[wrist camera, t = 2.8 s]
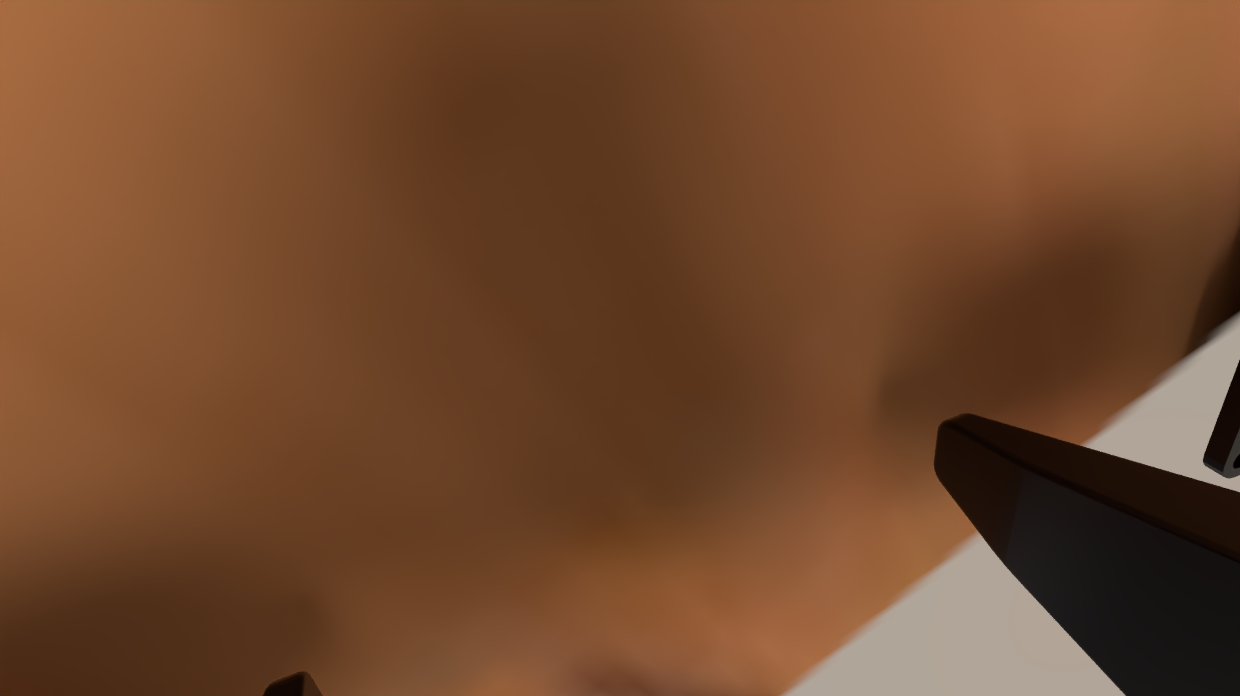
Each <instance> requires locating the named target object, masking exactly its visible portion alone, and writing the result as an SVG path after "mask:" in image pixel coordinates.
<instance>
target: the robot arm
mask: <svg viewBox="0 0 1240 696" xmlns="http://www.w3.org/2000/svg"><path fill="white" fill-rule="evenodd" d="M1203 463H1204V465H1205V466H1207V467H1208V468H1210V469H1212V470H1213V471H1215V472H1217V473H1218V474H1220V475H1222V476H1223V477H1226V478H1233V477H1236V476H1238V475H1240V360H1239V363H1238V366H1237V368H1236V371H1235V374H1234V376H1233V379H1232V382H1231V384H1230V387H1229V390H1228V393H1227V395H1226V398H1225V400H1224V403H1223V406H1222V409H1221V411H1220V414H1219V417H1218V419H1217V422H1216V424H1215V427H1214V430H1213V432H1212V435H1211V438H1210V440H1209V443H1208V446H1207V448H1206V451H1205V454H1204V458H1203ZM934 469H935V472H936V475H937V477H938V479H939V480H940V482H941V483H942V485H943V486H944V487H945V489H946V490H947V491H948V492H949V494H950V495H951V496H952V498H953V499H954V500H955V502H956V503H957V504H958V506H959V507H960V508H961V509H962V511H963V512H964V513H965V515H966V516H967V517H968V519H969V520H970V521H971V523H972V524H973V525H974V526H975V528H976V529H977V530H978V532H979V533H980V534H981V536H982V537H983V538H984V540H985V541H986V542H987V543H988V545H989V546H990V547H991V549H992V550H993V551H994V552H995V554H996V555H997V556H998V557H999V559H1000V560H1001V561H1002V562H1003V563H1004V565H1005V566H1006V567H1007V568H1008V569H1009V570H1010V571H1011V573H1012V574H1013V575H1014V576H1015V577H1016V578H1017V579H1018V580H1019V581H1020V582H1021V584H1022V585H1023V586H1024V587H1025V588H1026V589H1027V590H1028V591H1029V592H1030V593H1031V594H1032V595H1033V597H1034V598H1035V599H1036V600H1037V601H1038V602H1039V603H1040V604H1041V605H1042V606H1043V607H1044V608H1045V609H1046V611H1047V612H1048V613H1050V615H1051V616H1052V617H1053V618H1054V619H1055V620H1056V621H1057V622H1058V623H1059V625H1060V626H1061V627H1062V628H1063V629H1064V630H1065V631H1066V632H1067V633H1068V634H1069V635H1070V636H1071V637H1072V638H1073V640H1074V641H1076V643H1077V644H1078V645H1079V646H1080V647H1081V648H1082V649H1083V650H1084V651H1085V652H1086V654H1087V655H1088V656H1090V658H1091V659H1092V660H1093V661H1094V662H1095V663H1096V664H1097V665H1098V666H1099V667H1100V669H1101V670H1102V671H1103V672H1104V673H1105V674H1106V675H1107V676H1108V677H1109V678H1110V679H1111V680H1112V681H1113V683H1114V684H1115V685H1116V686H1117V687H1118V688H1119V689H1120V690H1121V691H1122V692H1123V693H1124V694H1125V695H1126V696H1240V492H1237V491H1233V490H1230V489H1226V488H1223V487H1220V486H1216V485H1213V484H1209V483H1206V482H1203V481H1199V480H1196V479H1192V478H1189V477H1186V476H1182V475H1178V474H1175V473H1172V472H1169V471H1165V470H1162V469H1158V468H1155V467H1151V466H1148V465H1145V464H1141V463H1138V462H1134V461H1131V460H1127V459H1124V458H1120V457H1117V456H1114V455H1110V454H1107V453H1103V452H1100V451H1097V450H1093V449H1090V448H1086V447H1083V446H1080V445H1076V444H1073V443H1069V442H1066V441H1062V440H1059V439H1056V438H1052V437H1049V436H1045V435H1042V434H1039V433H1035V432H1032V431H1028V430H1025V429H1021V428H1018V427H1015V426H1011V425H1008V424H1004V423H1001V422H998V421H994V420H991V419H987V418H984V417H980V416H977V415H973V414H968V413H965V414H960V415H958V416H955V417H952V418H950V419H947V420H945V421H943V422H942V423H941V424H940V425H939V427H938V431H937V440H936V448H935V457H934ZM262 696H323V695H322V694H321V692H320V691H319V689H318V687H317V686H316V684H315V682H314V681H313V679H312V677H311V676H310V675H309V674H308V673H307V672H304V671H302V672H297V673H295V674H292V675H290V676H287V677H285V678H282V679H279V680H277V681H275V682H273V683H271V684H270V685H269V686H268V687H267V688H266V690H265V691H264V693H263V695H262Z"/></svg>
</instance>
